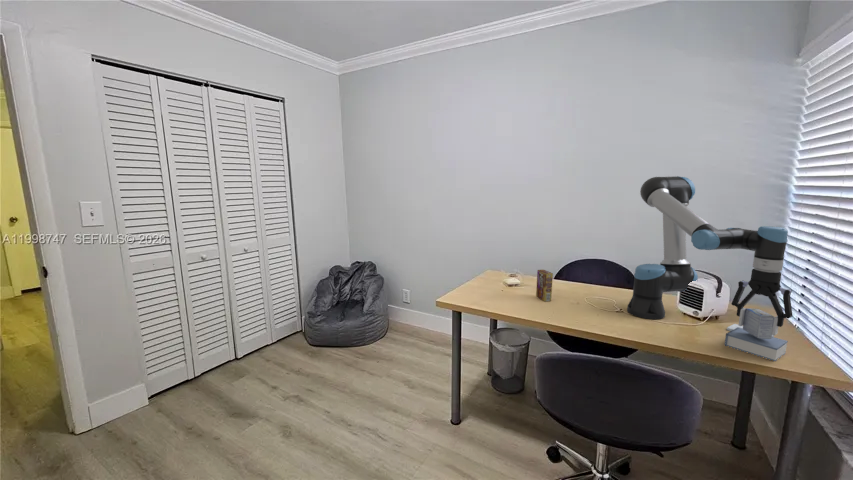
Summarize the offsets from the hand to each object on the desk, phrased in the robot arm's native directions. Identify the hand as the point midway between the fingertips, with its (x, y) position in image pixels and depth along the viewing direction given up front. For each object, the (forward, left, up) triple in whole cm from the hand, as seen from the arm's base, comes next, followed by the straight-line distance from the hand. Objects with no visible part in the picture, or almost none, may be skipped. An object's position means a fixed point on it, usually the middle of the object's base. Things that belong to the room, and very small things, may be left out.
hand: (757, 329), depth 126 cm
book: (0, 0, -8) cm, 8 cm away
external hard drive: (-6, +16, -8) cm, 20 cm away
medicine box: (0, 0, -2) cm, 2 cm away
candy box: (-80, -21, -8) cm, 83 cm away
